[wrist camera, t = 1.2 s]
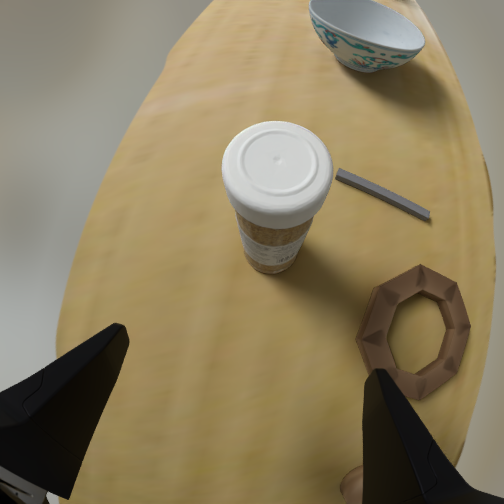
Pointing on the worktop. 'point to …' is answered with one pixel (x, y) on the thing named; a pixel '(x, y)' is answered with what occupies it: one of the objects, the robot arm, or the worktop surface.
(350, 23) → the chinaware
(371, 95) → the worktop surface
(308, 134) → the sprinkles bottle
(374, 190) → the grey rectangular bar
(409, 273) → the walnut ring
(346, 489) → the small wooden bead
